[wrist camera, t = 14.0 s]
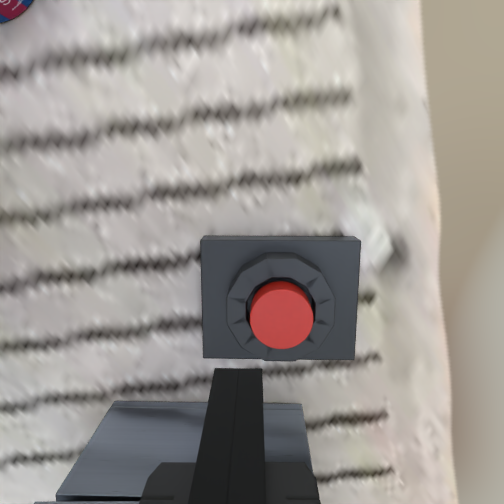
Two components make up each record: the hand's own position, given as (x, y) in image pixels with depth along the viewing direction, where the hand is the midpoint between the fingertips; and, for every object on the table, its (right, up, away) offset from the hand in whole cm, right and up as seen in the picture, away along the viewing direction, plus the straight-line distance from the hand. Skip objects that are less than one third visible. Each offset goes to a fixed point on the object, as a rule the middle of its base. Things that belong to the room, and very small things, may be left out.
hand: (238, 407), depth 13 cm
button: (+2, +2, +12) cm, 12 cm away
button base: (+2, +2, +15) cm, 15 cm away
